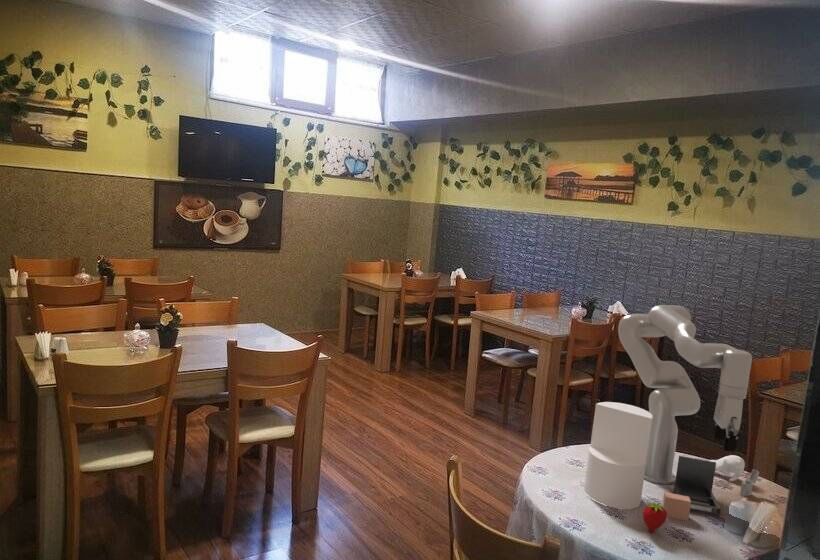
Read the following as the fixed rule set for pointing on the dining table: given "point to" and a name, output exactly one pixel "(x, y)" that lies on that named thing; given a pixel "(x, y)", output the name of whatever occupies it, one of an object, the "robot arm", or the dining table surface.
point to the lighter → (749, 483)
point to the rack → (697, 484)
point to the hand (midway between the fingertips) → (724, 444)
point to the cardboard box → (676, 506)
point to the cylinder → (618, 454)
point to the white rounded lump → (730, 466)
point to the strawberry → (654, 516)
